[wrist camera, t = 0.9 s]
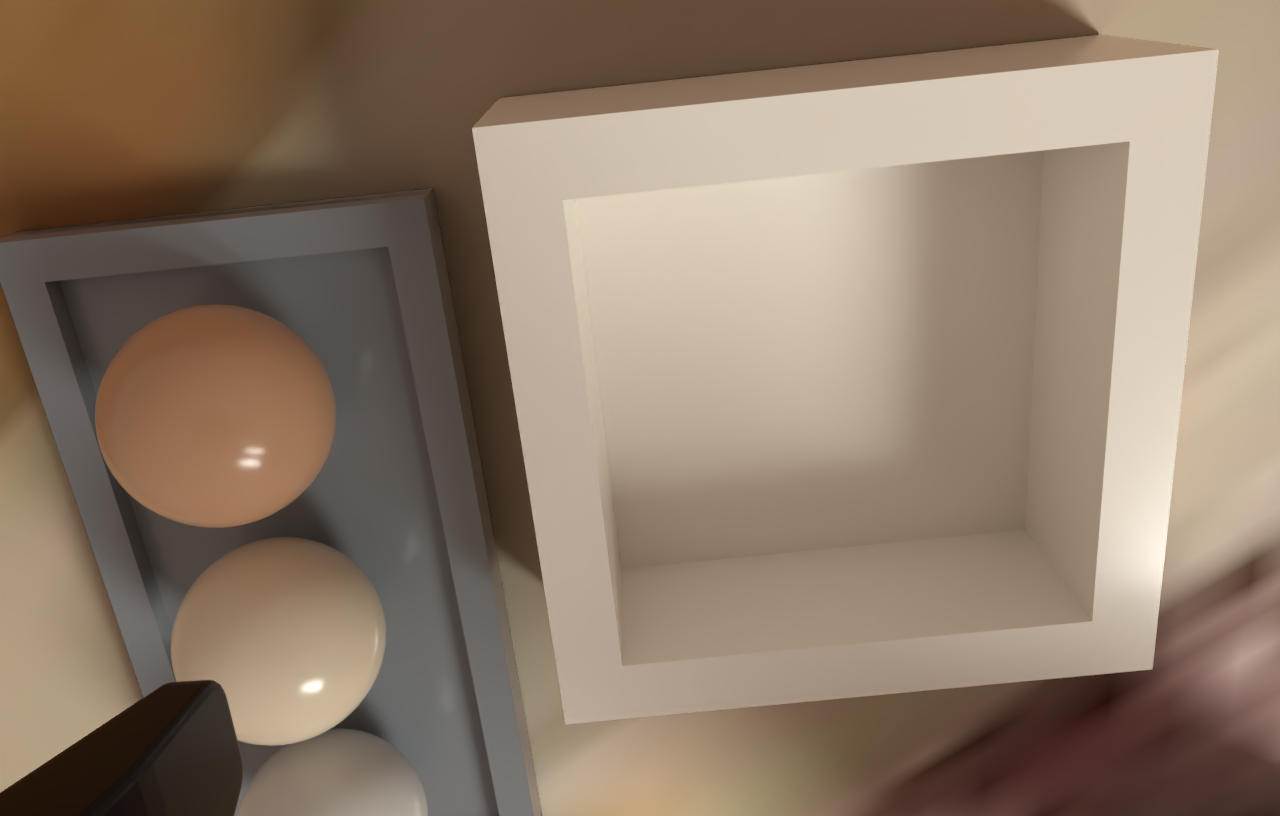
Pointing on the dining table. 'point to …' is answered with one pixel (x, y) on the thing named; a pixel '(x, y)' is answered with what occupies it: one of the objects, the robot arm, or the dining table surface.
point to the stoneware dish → (851, 367)
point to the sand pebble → (282, 637)
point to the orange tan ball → (215, 415)
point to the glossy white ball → (336, 779)
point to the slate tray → (352, 474)
